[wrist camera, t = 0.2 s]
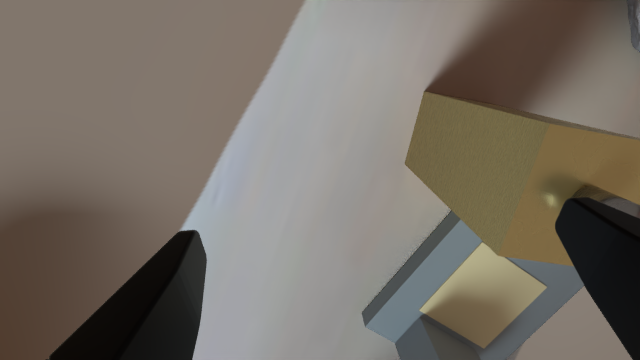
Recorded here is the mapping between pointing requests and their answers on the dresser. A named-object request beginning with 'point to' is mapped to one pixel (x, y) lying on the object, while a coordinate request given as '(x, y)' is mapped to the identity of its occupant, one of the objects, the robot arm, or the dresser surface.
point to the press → (467, 299)
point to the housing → (519, 171)
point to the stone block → (634, 22)
